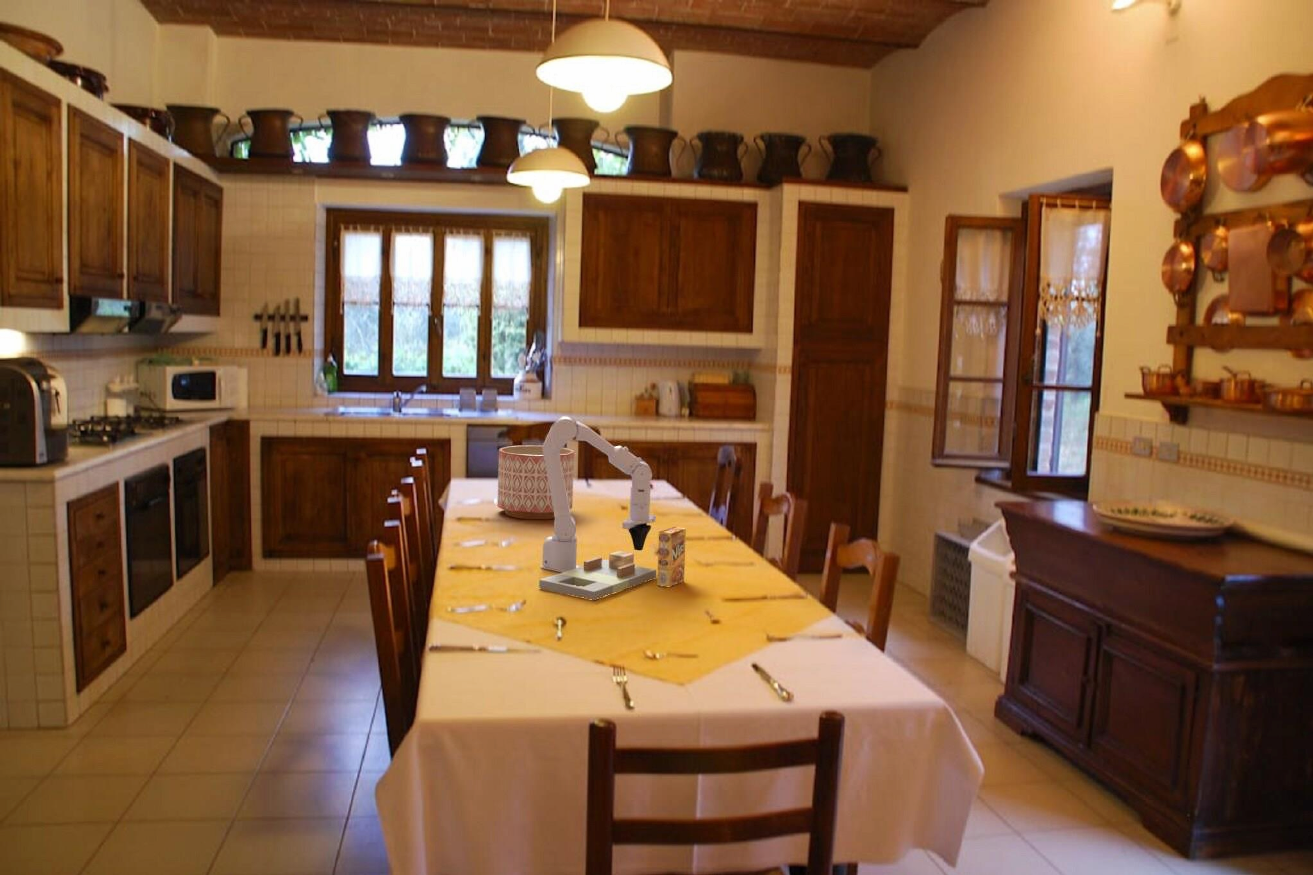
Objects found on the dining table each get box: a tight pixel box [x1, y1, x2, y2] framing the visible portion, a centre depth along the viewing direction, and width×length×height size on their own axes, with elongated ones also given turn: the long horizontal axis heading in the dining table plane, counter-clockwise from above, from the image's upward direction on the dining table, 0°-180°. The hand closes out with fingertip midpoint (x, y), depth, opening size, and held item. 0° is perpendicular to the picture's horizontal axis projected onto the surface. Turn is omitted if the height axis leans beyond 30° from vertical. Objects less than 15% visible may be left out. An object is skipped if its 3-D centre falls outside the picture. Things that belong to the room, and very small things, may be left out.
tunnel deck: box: [538, 556, 657, 600], centre depth 272 cm, size 18×30×5 cm, turn 148°
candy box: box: [656, 526, 687, 587], centre depth 275 cm, size 9×4×15 cm, turn 150°
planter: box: [497, 444, 575, 520], centre depth 365 cm, size 27×27×24 cm
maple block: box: [608, 550, 635, 569], centre depth 281 cm, size 5×5×4 cm
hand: (638, 549), depth 288 cm, fingers closed
